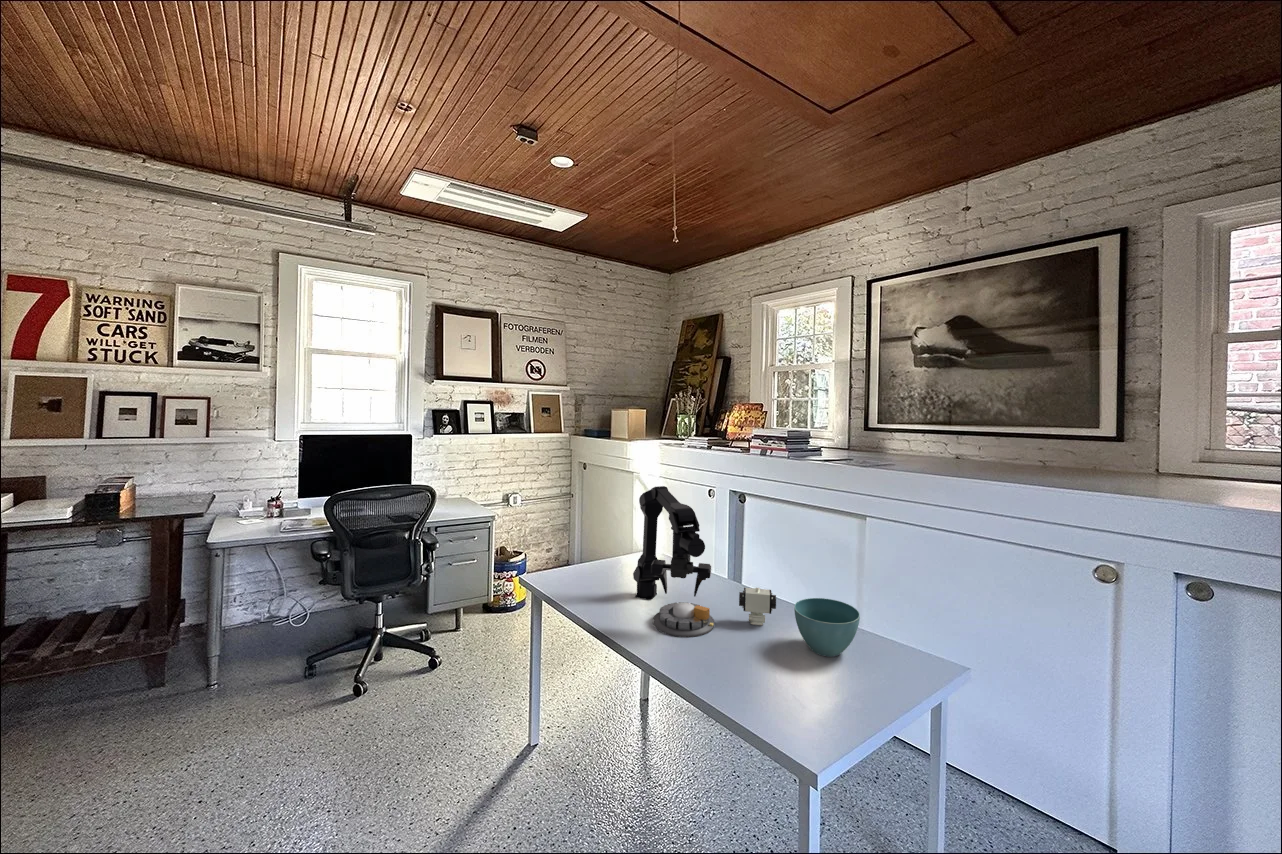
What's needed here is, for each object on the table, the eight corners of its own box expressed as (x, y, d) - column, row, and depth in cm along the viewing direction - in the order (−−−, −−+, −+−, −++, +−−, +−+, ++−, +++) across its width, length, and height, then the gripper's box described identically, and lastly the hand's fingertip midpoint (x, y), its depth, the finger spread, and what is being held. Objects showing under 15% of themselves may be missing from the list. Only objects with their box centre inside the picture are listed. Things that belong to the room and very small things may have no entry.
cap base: (643, 630, 168) (644, 613, 168) (665, 606, 187) (665, 591, 186) (704, 642, 160) (704, 624, 160) (721, 616, 179) (721, 600, 178)
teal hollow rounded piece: (816, 669, 145) (817, 626, 144) (781, 639, 163) (782, 600, 162) (872, 661, 150) (873, 619, 149) (832, 632, 168) (834, 595, 167)
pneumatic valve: (775, 628, 170) (776, 592, 169) (738, 624, 173) (739, 589, 172) (774, 621, 176) (775, 585, 175) (738, 617, 178) (739, 583, 177)
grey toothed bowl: (695, 635, 162) (695, 618, 162) (650, 621, 171) (650, 605, 171) (718, 617, 175) (718, 601, 175) (675, 605, 185) (675, 590, 184)
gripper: (647, 552, 161) (646, 602, 162) (709, 557, 157) (708, 608, 158) (654, 541, 171) (653, 588, 173) (712, 546, 168) (710, 593, 169)
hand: (680, 594), depth 168 cm, fingers open, 9 cm apart
